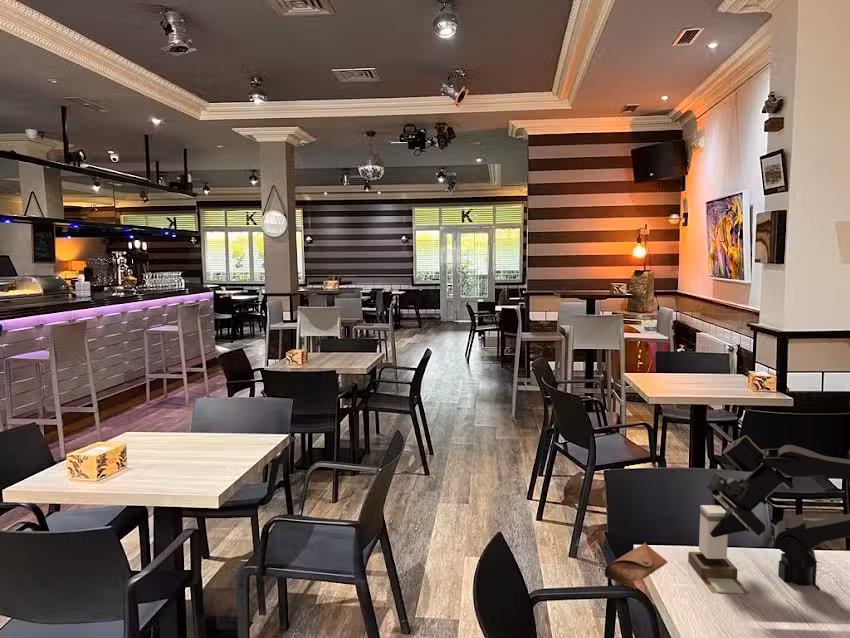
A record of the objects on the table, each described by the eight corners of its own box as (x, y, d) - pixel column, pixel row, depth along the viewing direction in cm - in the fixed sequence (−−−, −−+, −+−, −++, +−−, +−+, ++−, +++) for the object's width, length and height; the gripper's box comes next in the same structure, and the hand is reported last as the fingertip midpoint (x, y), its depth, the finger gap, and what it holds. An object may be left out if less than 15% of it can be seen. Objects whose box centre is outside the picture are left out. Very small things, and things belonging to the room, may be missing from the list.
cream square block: (718, 549, 141) (719, 505, 140) (726, 559, 137) (728, 513, 136) (698, 549, 141) (700, 505, 140) (706, 558, 137) (708, 513, 136)
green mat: (732, 579, 135) (732, 578, 135) (743, 593, 129) (743, 592, 129) (707, 579, 135) (707, 578, 135) (717, 592, 130) (717, 591, 130)
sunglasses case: (637, 590, 132) (624, 560, 135) (613, 595, 137) (600, 566, 139) (674, 563, 144) (661, 536, 146) (651, 568, 149) (638, 542, 151)
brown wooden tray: (721, 566, 143) (722, 552, 143) (749, 598, 129) (750, 583, 129) (688, 565, 144) (688, 551, 143) (712, 597, 130) (712, 582, 129)
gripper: (716, 450, 146) (669, 492, 148) (753, 476, 128) (699, 524, 129) (747, 481, 146) (700, 523, 148) (788, 512, 128) (734, 559, 129)
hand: (707, 531), depth 139 cm, fingers closed on cream square block, 4 cm apart
